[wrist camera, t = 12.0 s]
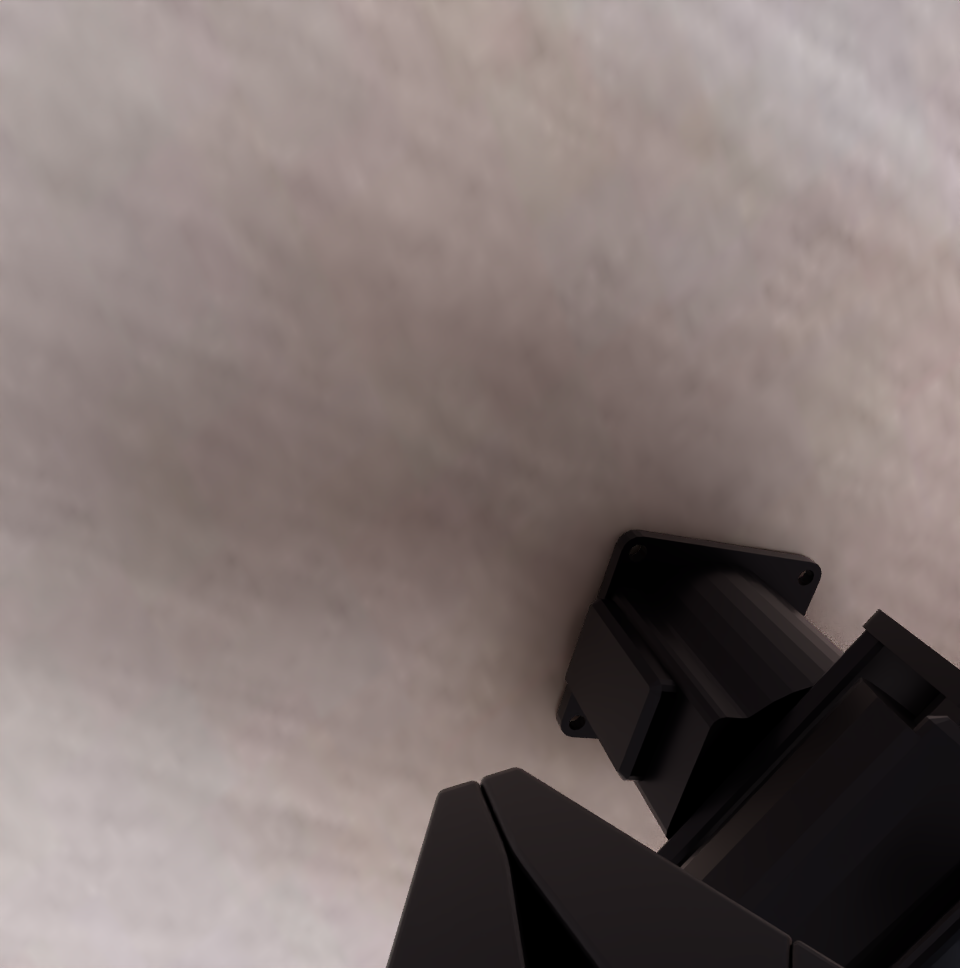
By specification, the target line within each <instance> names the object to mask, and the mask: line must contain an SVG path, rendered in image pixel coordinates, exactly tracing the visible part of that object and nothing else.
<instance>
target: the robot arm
mask: <svg viewBox="0 0 960 968" xmlns="http://www.w3.org/2000/svg"><path fill="white" fill-rule="evenodd" d="M636 545H641V547H640V549H639V551H638V552H637V553H635V554H633V555H629V552H630V550H631V549H632V548H633V547H634V546H636ZM805 570H806V571H805ZM803 571H805V573H804V575H803V576H802V577H800V578H799V579H798V577H799V575H800V574H801V573H802V572H803ZM820 578H821V568H820V567H819V566H818V564H816V563H815V562H814V561H813V560H811V559H810V558H808V557H806V556H801V555H795V554H788V553H782V552H776V551H769V550H763V549H756V548H750V547H744V546H737V545H731V544H724V543H718V542H712V541H705V540H699V539H692V538H686V537H680V536H673V535H667V534H660V533H654V532H648V531H641V530H631V531H628V532H626V533H624V534H623V535H622V536H621V537H620V538H619V539H618V541H617V543H616V545H615V548H614V550H613V553H612V556H611V559H610V562H609V565H608V568H607V571H606V573H605V576H604V579H603V582H602V585H601V588H600V591H599V594H598V596H597V599H596V600H595V601H594V602H593V603H592V604H591V605H590V607H589V610H588V613H587V615H586V618H585V621H584V624H583V627H582V630H581V633H580V636H579V639H578V642H577V644H576V647H575V650H574V653H573V656H572V659H571V662H570V665H569V668H568V670H567V673H566V677H565V680H566V682H567V686H566V689H565V691H564V694H563V697H562V700H561V703H560V706H559V709H558V712H557V717H556V719H557V722H558V724H559V726H560V728H561V730H562V732H563V733H564V734H565V735H567V736H570V737H580V738H595V739H599V741H600V743H601V744H602V746H603V748H604V750H605V751H606V753H607V755H608V757H609V759H610V760H611V762H612V764H613V766H614V767H615V769H616V771H617V772H618V774H619V775H620V777H621V778H622V779H623V780H625V781H634V782H635V784H636V786H637V787H638V789H639V791H640V793H641V794H642V796H643V798H644V799H645V801H646V803H647V805H648V806H649V808H650V810H651V812H652V813H653V815H654V817H655V818H656V820H657V822H658V824H659V825H660V827H661V829H662V830H663V832H664V834H665V836H666V837H667V839H668V841H667V842H666V843H665V844H664V845H663V847H662V848H661V849H660V850H659V851H658V852H657V853H656V852H654V851H653V850H651V849H650V848H648V847H646V846H645V845H643V844H642V843H640V842H638V841H637V840H635V839H633V838H632V837H630V836H629V835H627V834H625V833H624V832H622V831H621V830H619V829H617V828H616V827H614V826H613V825H611V824H609V823H608V822H606V821H605V820H603V819H601V818H600V817H598V816H597V815H595V814H593V813H592V812H590V811H588V810H587V809H585V808H584V807H582V806H580V805H579V804H577V803H576V802H574V801H572V800H571V799H569V798H568V797H566V796H564V795H563V794H561V793H560V792H558V791H556V790H555V789H553V788H552V787H550V786H548V785H547V784H545V783H543V782H542V781H540V780H539V779H537V778H535V777H534V776H532V775H531V774H529V773H527V772H526V771H524V770H523V769H520V768H517V767H515V768H510V769H507V770H504V771H501V772H498V773H494V774H491V775H488V776H485V777H483V779H482V780H481V783H480V785H479V784H478V783H477V782H476V781H469V782H466V783H462V784H459V785H456V786H453V787H449V788H446V789H443V790H441V791H440V792H439V793H438V795H437V798H436V800H435V804H434V807H433V811H432V814H431V817H430V821H429V824H428V827H427V831H426V834H425V838H424V841H423V844H422V848H421V851H420V855H419V858H418V861H417V865H416V868H415V871H414V875H413V878H412V882H411V885H410V888H409V892H408V895H407V898H406V902H405V905H404V909H403V912H402V915H401V919H400V922H399V925H398V929H397V932H396V936H395V939H394V942H393V946H392V949H391V952H390V956H389V959H388V963H387V966H386V968H960V670H959V669H958V668H957V667H955V666H954V665H953V664H951V663H950V662H949V661H947V660H946V659H945V658H943V657H942V656H941V655H939V654H938V653H937V652H935V651H934V650H933V649H932V648H930V647H929V646H928V645H926V644H925V643H924V642H922V641H921V640H920V639H918V638H917V637H916V636H914V635H913V634H912V633H910V632H909V631H908V630H906V629H905V628H904V627H902V626H901V625H900V624H898V623H897V622H896V621H894V620H893V619H892V618H890V617H889V616H888V615H886V614H885V613H884V612H882V611H881V610H880V609H878V610H877V611H876V613H875V614H874V615H873V616H872V617H871V618H870V619H869V620H868V621H867V622H866V623H865V624H864V625H863V626H862V627H863V628H865V629H866V630H865V631H864V632H863V633H862V634H861V636H860V637H859V638H858V639H857V640H856V641H855V642H854V643H853V644H852V645H851V646H850V647H849V648H848V649H847V650H846V652H845V653H844V652H843V651H842V650H840V649H839V648H838V647H837V646H836V645H835V644H834V643H833V642H832V641H830V640H829V639H828V638H827V637H826V636H825V635H824V634H823V633H822V632H820V631H819V630H818V629H817V628H816V627H815V626H814V625H813V624H811V623H810V622H809V621H808V620H807V619H806V618H805V617H804V615H805V613H806V611H807V608H808V606H809V604H810V602H811V599H812V597H813V595H814V592H815V590H816V588H817V586H818V583H819V581H820ZM579 715H580V716H579ZM575 716H579V718H578V719H576V720H575V721H570V720H571V719H572V718H573V717H575Z"/></svg>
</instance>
